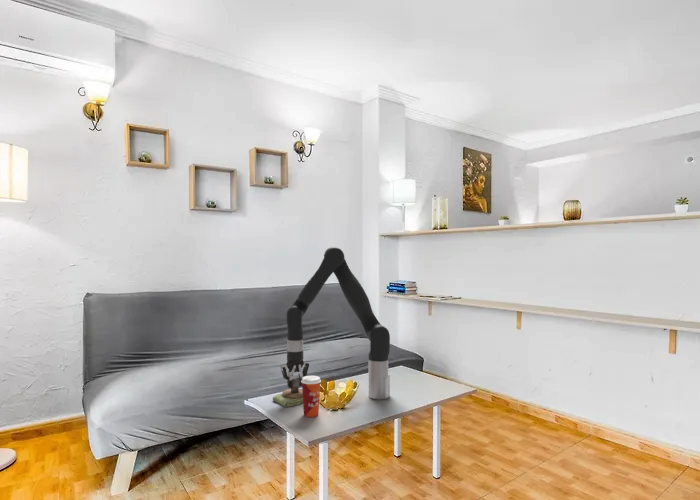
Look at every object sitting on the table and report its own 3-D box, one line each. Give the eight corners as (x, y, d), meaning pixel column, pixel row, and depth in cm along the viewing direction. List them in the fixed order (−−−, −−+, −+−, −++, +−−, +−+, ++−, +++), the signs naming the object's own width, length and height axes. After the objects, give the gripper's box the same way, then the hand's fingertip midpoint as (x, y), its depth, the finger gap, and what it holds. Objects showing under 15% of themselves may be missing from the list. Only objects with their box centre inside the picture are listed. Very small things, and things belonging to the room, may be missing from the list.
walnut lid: (311, 392, 193) (311, 377, 193) (298, 399, 183) (298, 383, 183) (291, 389, 197) (291, 374, 198) (277, 396, 187) (277, 380, 188)
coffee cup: (313, 419, 166) (313, 381, 167) (296, 415, 170) (297, 378, 171) (325, 413, 173) (325, 376, 174) (309, 409, 178) (309, 374, 178)
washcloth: (319, 401, 191) (319, 393, 191) (285, 409, 179) (285, 402, 180) (303, 394, 201) (303, 387, 201) (270, 401, 190) (270, 394, 190)
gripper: (284, 352, 184) (284, 392, 183) (312, 349, 192) (312, 386, 192) (277, 350, 190) (277, 387, 189) (304, 346, 198) (304, 382, 198)
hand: (295, 386), depth 191 cm, fingers open, 4 cm apart
